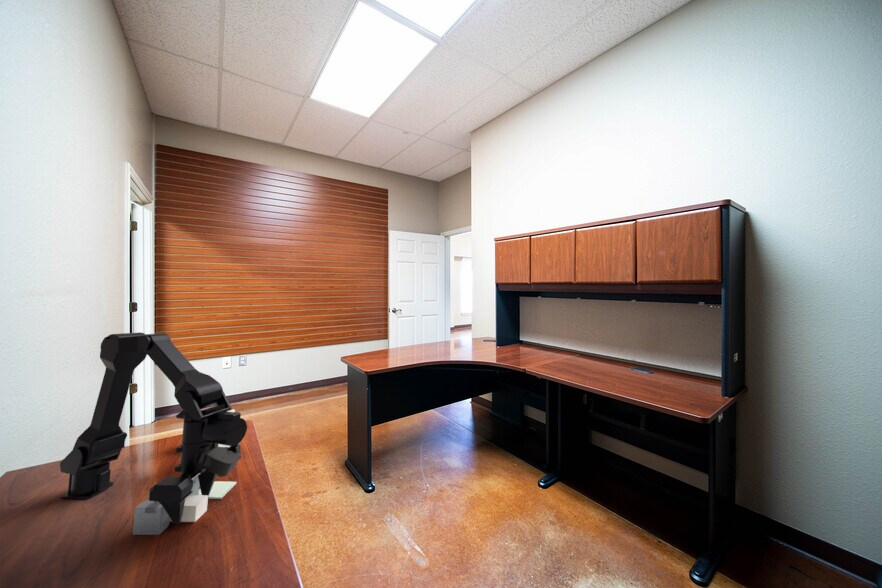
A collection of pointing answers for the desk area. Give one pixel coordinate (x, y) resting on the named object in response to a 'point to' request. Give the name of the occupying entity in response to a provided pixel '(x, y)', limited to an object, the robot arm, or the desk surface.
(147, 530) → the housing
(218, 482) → the mat
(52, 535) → the desk surface
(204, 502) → the plug
